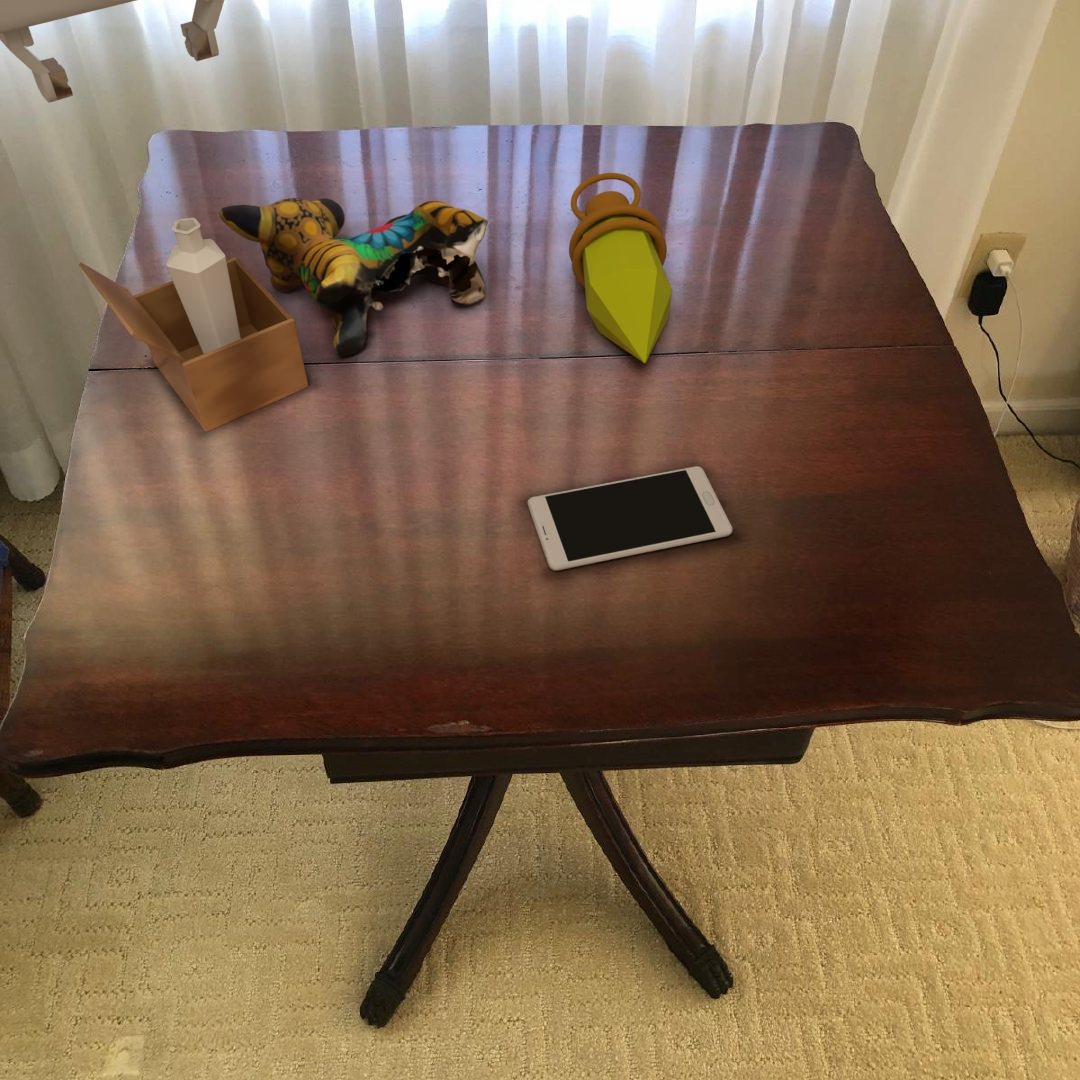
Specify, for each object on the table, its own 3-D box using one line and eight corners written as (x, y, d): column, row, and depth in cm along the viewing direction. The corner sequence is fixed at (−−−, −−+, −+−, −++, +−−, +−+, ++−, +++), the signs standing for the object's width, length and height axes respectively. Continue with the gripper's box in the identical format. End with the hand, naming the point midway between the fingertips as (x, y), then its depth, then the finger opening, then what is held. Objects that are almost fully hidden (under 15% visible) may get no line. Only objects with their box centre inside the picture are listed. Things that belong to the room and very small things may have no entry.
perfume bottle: (251, 390, 87) (209, 243, 75) (201, 389, 87) (152, 241, 75) (261, 355, 90) (223, 209, 78) (213, 354, 90) (167, 207, 78)
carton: (206, 432, 84) (183, 366, 78) (154, 363, 89) (129, 296, 84) (308, 386, 88) (294, 320, 82) (253, 323, 93) (236, 256, 87)
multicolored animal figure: (488, 333, 99) (384, 240, 106) (514, 223, 90) (398, 129, 97) (319, 390, 88) (214, 281, 95) (330, 270, 79) (213, 160, 86)
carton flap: (181, 358, 78) (179, 361, 78) (128, 289, 83) (126, 292, 83) (133, 332, 74) (131, 335, 74) (80, 261, 79) (78, 264, 79)
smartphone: (735, 531, 77) (550, 568, 75) (734, 536, 78) (550, 573, 75) (701, 463, 82) (525, 496, 79) (700, 468, 82) (525, 501, 80)
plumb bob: (699, 384, 90) (647, 200, 103) (693, 316, 82) (638, 126, 95) (602, 406, 91) (562, 221, 104) (587, 341, 83) (546, 150, 96)
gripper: (215, -238, 56) (261, 15, 67) (-175, -180, 48) (-52, 98, 59) (268, -209, 53) (306, 51, 64) (-140, -141, 45) (-17, 144, 56)
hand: (132, 75), depth 61 cm, fingers open, 8 cm apart
